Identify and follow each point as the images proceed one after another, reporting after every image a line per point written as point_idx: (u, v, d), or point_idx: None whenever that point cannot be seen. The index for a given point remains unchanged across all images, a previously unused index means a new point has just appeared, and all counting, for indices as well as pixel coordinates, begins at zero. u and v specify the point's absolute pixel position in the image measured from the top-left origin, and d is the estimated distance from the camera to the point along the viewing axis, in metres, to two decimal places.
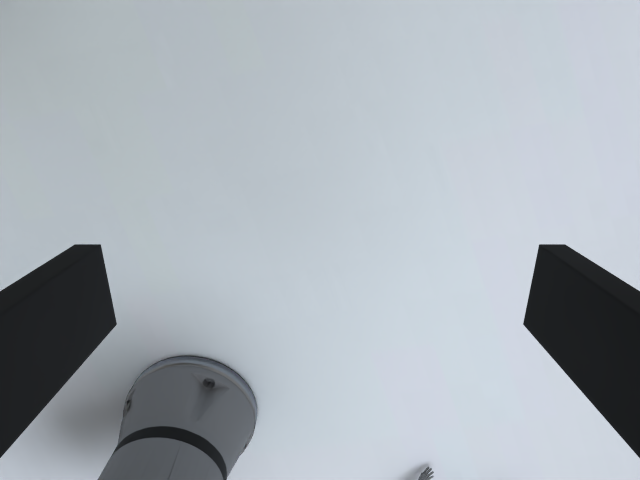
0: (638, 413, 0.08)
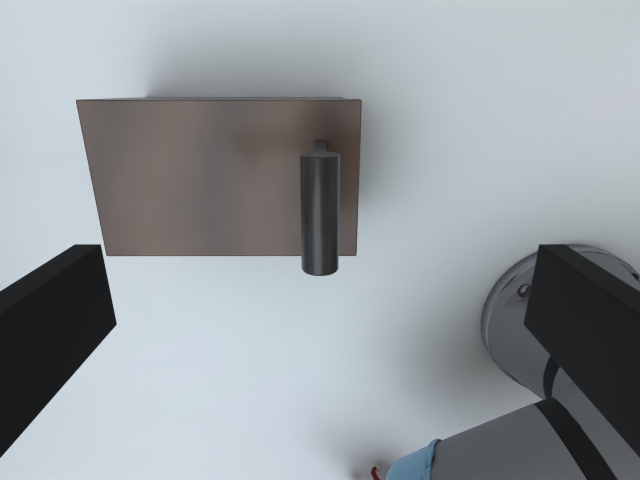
0: (638, 413, 0.08)
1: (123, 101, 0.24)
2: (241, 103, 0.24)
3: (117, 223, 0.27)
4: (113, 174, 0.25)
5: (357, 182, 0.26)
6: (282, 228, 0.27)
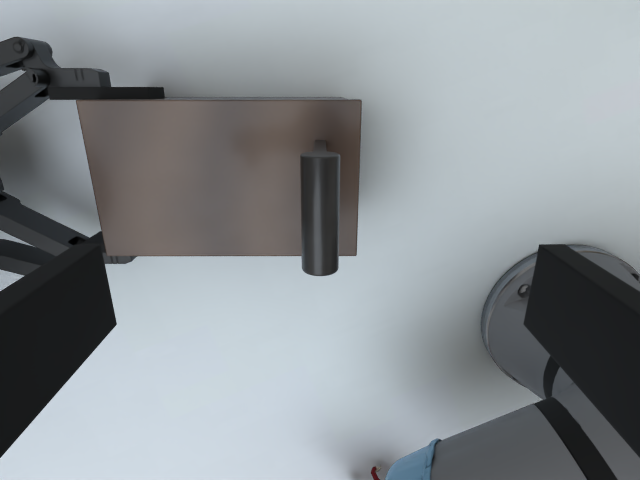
0: (638, 413, 0.08)
1: (123, 101, 0.24)
2: (242, 104, 0.24)
3: (117, 223, 0.27)
4: (114, 174, 0.25)
5: (357, 182, 0.26)
6: (282, 228, 0.27)
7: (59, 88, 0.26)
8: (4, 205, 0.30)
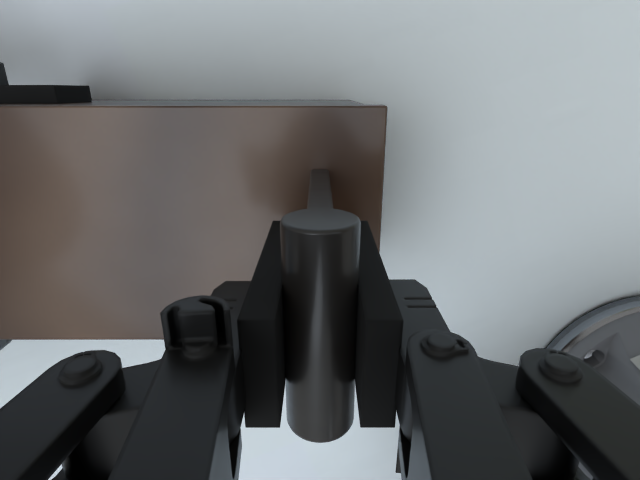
0: None
1: (1, 108, 0.15)
2: (193, 112, 0.15)
3: (10, 293, 0.17)
4: None
5: (378, 233, 0.17)
6: None
7: None
8: None
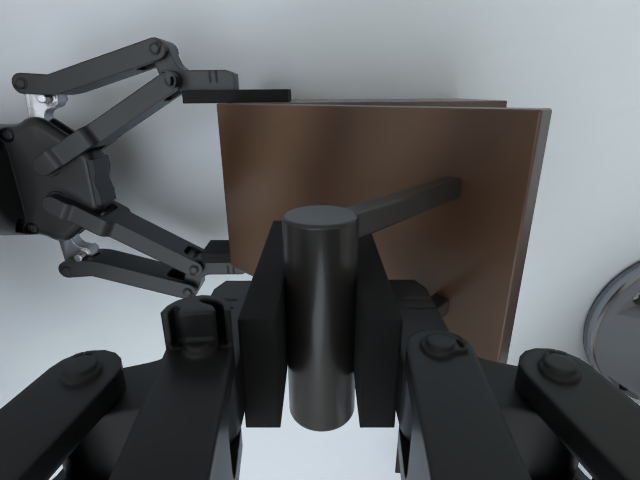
0: (354, 345, 0.10)
1: (247, 105, 0.21)
2: (352, 112, 0.17)
3: (238, 236, 0.25)
4: (238, 184, 0.23)
5: (512, 264, 0.14)
6: None
7: (194, 91, 0.25)
8: (118, 214, 0.29)
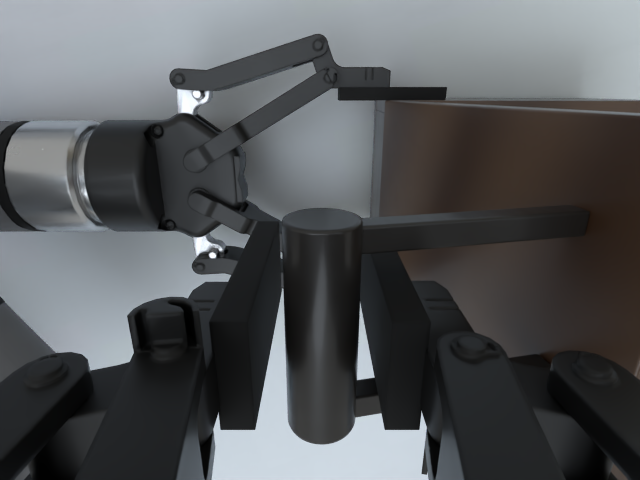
0: (375, 346, 0.10)
1: (405, 103, 0.20)
2: (486, 113, 0.14)
3: None
4: (389, 183, 0.23)
5: None
6: None
7: (353, 88, 0.25)
8: (252, 211, 0.29)
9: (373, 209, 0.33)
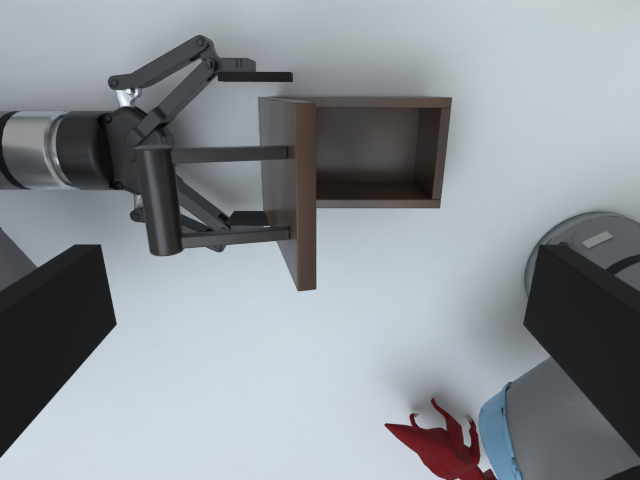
0: (638, 413, 0.08)
1: (262, 98, 0.32)
2: (273, 103, 0.26)
3: (263, 188, 0.36)
4: None
5: (295, 203, 0.21)
6: None
7: (226, 72, 0.36)
8: None
9: None
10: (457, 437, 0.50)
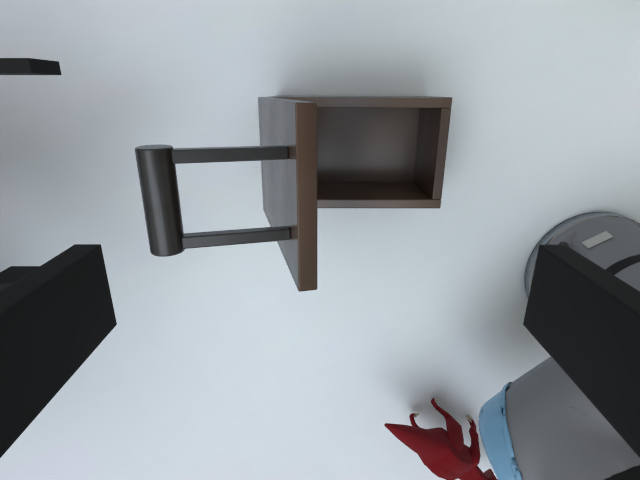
0: (638, 413, 0.08)
1: (262, 98, 0.32)
2: (274, 103, 0.26)
3: (263, 188, 0.36)
4: None
5: (296, 203, 0.21)
6: None
7: None
8: None
9: None
10: (457, 437, 0.50)
